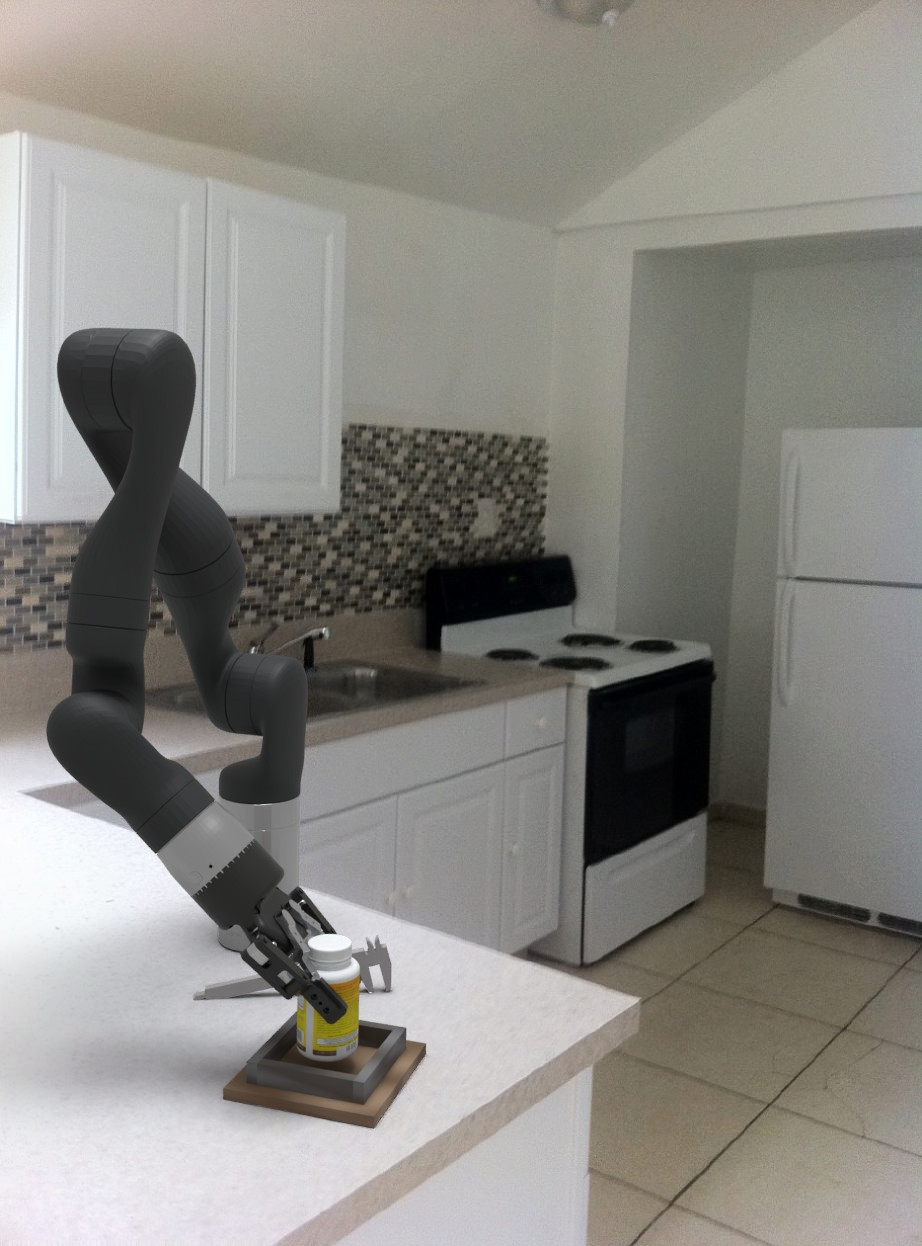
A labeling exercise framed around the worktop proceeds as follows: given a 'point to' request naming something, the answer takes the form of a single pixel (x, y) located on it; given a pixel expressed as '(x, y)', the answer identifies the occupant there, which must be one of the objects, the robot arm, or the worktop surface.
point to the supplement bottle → (344, 978)
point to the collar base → (329, 1075)
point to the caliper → (258, 983)
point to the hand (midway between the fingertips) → (347, 1001)
